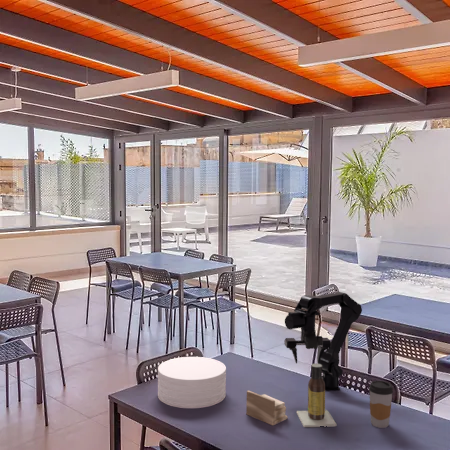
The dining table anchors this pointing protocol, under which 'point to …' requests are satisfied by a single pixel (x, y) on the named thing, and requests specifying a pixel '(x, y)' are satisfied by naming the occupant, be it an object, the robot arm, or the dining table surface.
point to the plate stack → (191, 382)
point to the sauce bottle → (316, 393)
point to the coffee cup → (380, 403)
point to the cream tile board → (310, 422)
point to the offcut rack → (265, 408)
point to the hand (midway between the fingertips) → (307, 363)
